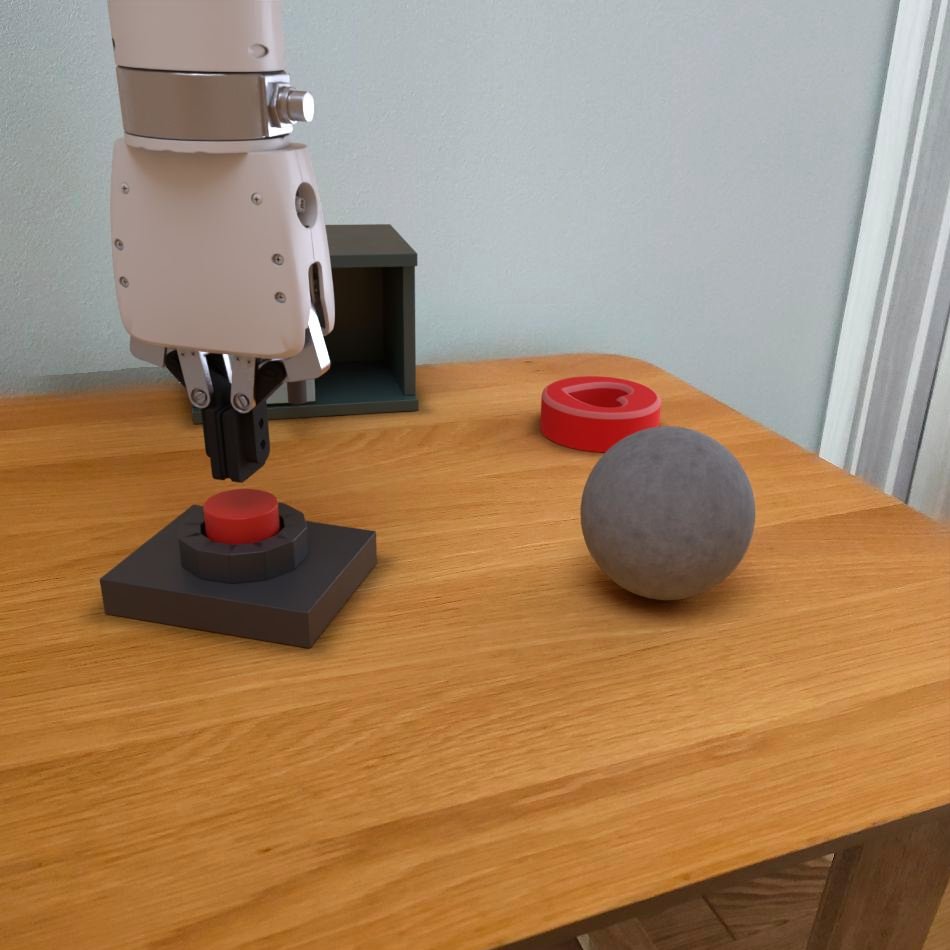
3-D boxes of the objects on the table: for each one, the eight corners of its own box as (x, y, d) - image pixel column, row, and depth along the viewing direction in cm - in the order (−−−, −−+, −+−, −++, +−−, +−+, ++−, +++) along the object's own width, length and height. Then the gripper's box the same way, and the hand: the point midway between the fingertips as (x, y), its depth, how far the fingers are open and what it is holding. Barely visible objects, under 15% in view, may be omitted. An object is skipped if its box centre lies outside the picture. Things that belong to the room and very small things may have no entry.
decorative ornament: (531, 410, 90) (533, 375, 89) (641, 409, 92) (645, 374, 90) (550, 453, 82) (552, 414, 80) (671, 451, 83) (675, 413, 82)
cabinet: (193, 424, 83) (175, 257, 78) (190, 376, 94) (174, 226, 88) (418, 410, 89) (417, 253, 83) (392, 367, 99) (390, 224, 93)
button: (192, 541, 58) (189, 513, 57) (227, 512, 62) (225, 484, 61) (260, 552, 57) (257, 523, 57) (291, 521, 61) (289, 493, 60)
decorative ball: (771, 623, 60) (799, 461, 56) (605, 641, 58) (620, 472, 53) (703, 544, 69) (722, 398, 64) (555, 557, 66) (564, 405, 62)
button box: (104, 614, 58) (94, 549, 56) (196, 535, 67) (190, 477, 65) (309, 648, 56) (306, 582, 54) (377, 563, 65) (375, 503, 63)
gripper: (385, 115, 52) (393, 463, 60) (108, 96, 54) (153, 432, 62) (323, 129, 45) (342, 518, 53) (12, 107, 48) (76, 481, 56)
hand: (240, 471), depth 58 cm, fingers closed
